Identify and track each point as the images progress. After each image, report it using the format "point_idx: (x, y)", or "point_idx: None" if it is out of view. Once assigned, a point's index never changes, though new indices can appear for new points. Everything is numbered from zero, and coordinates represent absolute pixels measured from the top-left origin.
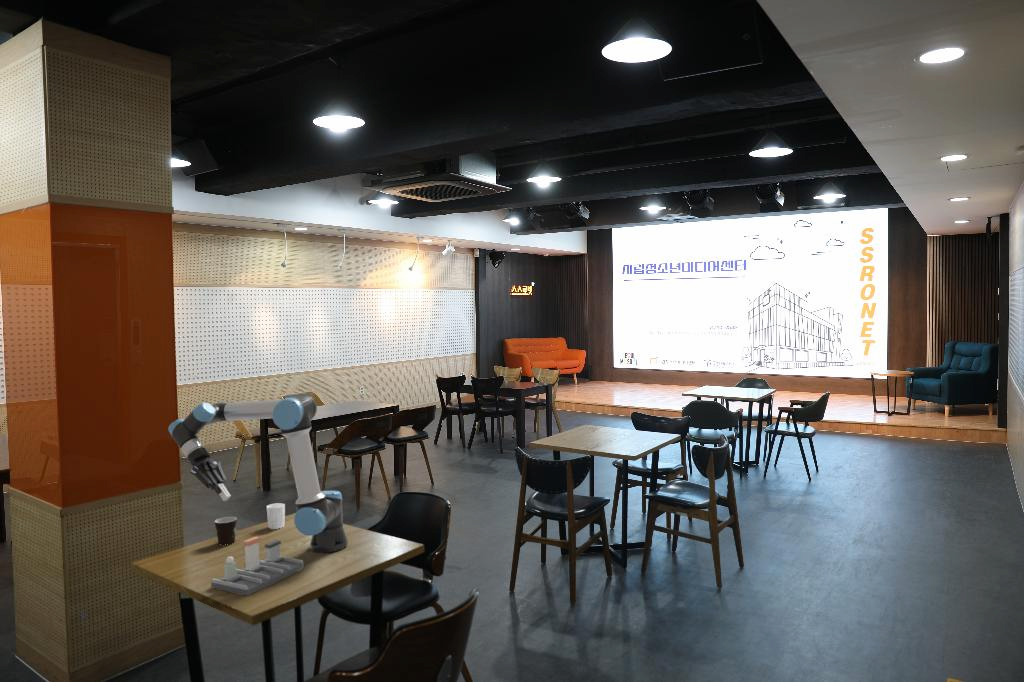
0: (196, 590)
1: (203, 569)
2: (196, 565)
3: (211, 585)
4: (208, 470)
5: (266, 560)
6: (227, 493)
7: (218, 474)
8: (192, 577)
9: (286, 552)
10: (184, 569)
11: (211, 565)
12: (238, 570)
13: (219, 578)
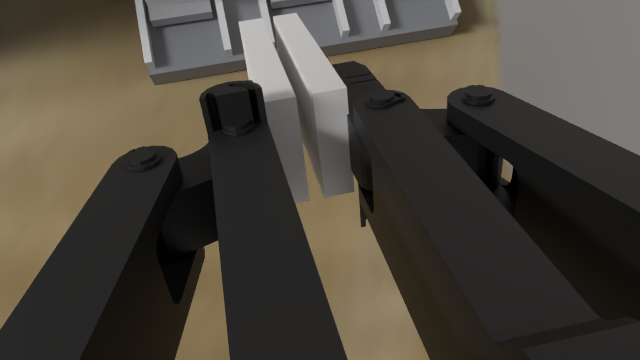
0: (498, 57)
1: (381, 251)
2: (377, 333)
3: (453, 30)
4: (538, 337)
5: (209, 2)
6: (266, 30)
7: (222, 244)
8: None
9: (27, 126)
10: None
11: (333, 270)
12: (344, 10)
13: (419, 30)
